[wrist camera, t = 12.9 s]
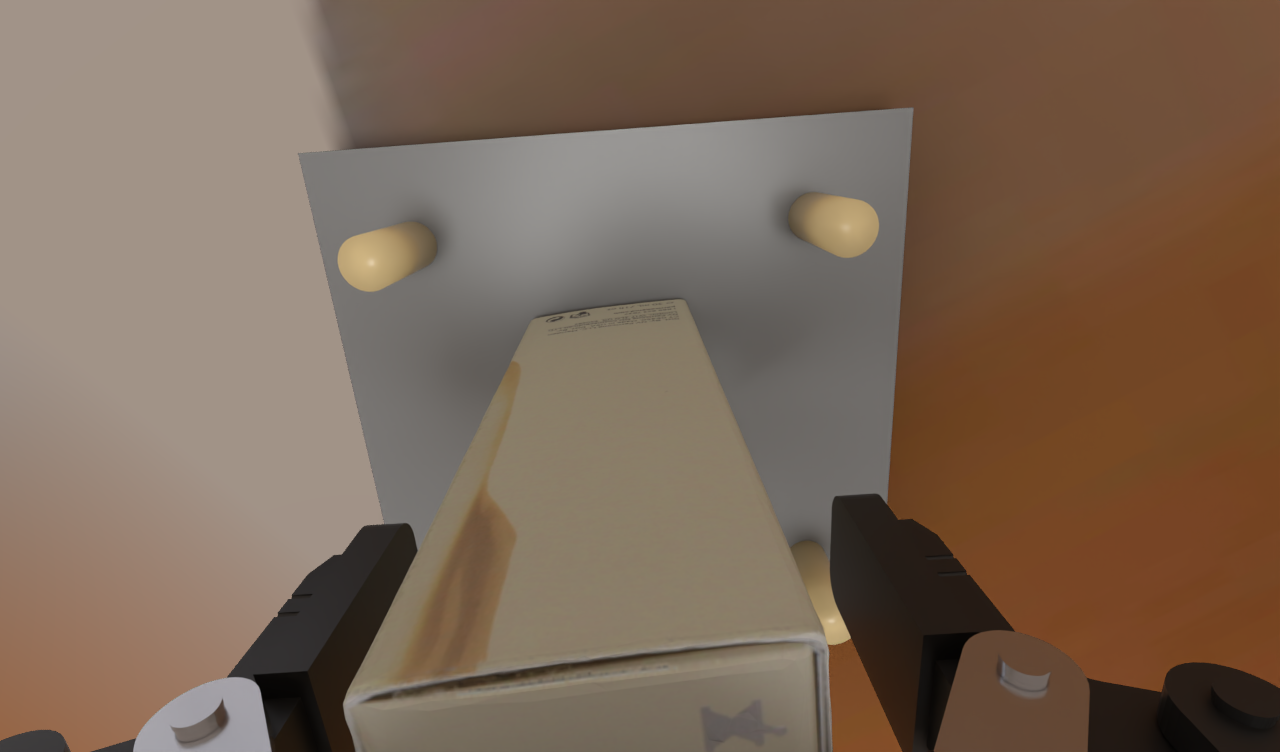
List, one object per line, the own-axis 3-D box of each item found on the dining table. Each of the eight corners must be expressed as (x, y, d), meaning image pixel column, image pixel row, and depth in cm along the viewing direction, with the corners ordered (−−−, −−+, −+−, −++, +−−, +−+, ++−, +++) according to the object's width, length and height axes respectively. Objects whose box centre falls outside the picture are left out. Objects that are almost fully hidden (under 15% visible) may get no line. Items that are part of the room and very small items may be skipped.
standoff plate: (889, 112, 17) (977, 95, 12) (863, 586, 21) (919, 691, 17) (326, 153, 17) (221, 151, 13) (427, 613, 22) (376, 725, 17)
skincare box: (526, 315, 17) (303, 667, 5) (689, 293, 17) (838, 602, 5) (567, 524, 19) (474, 1109, 7) (711, 505, 19) (854, 1068, 7)
